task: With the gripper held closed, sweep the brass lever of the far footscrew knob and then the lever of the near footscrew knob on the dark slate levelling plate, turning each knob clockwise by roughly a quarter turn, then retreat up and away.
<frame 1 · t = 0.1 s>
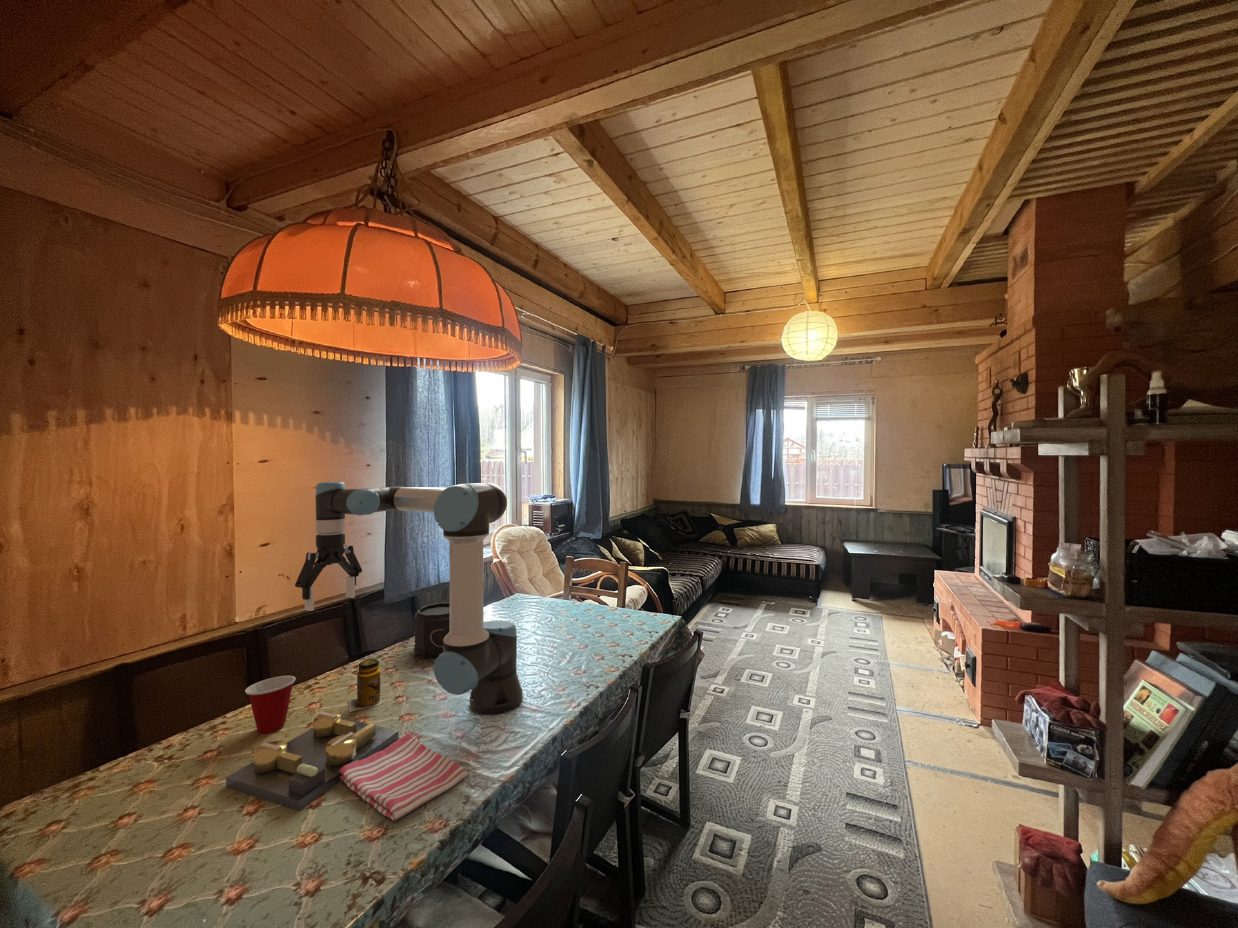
hand: (330, 603, 140), 28 cm above the table, fingers open, 13 cm apart
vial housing: (307, 784, 99), resting on levelling plate
levelling plate: (319, 760, 110), on the table
dish towel: (402, 781, 103), on the table, touching levelling plate
knob B: (279, 757, 104), point 4 cm above the table, hinge at 0.0°
condiment: (365, 703, 137), on the table
knob C: (352, 741, 110), point 4 cm above the table, hinge at 0.0°
plastic cup: (271, 728, 124), on the table
knob A: (335, 724, 118), point 4 cm above the table, hinge at 0.0°
dark lidded canister: (440, 650, 175), on the table
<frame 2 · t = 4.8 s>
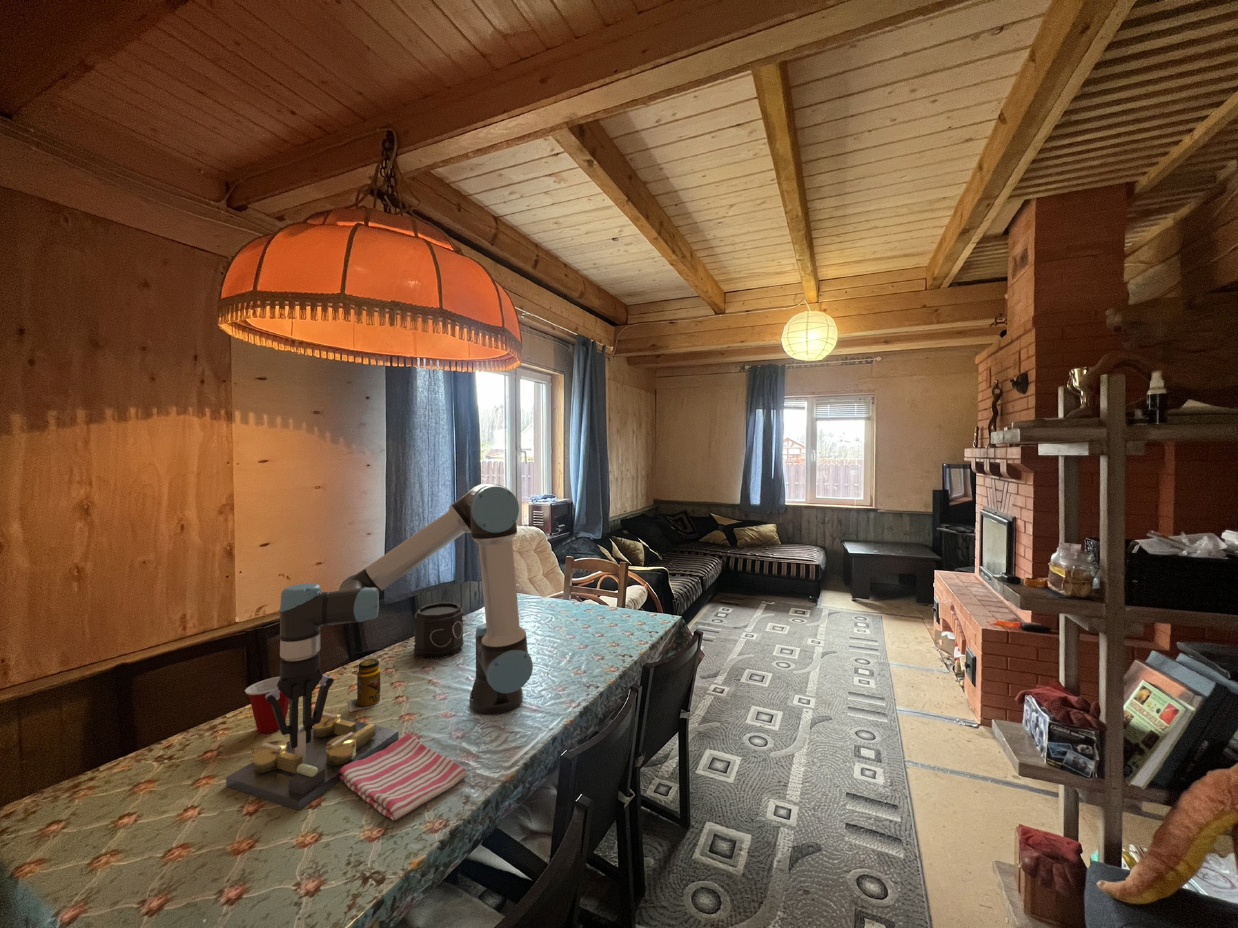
hand: (300, 759, 105), 4 cm above the table, fingers closed
knob B: (279, 757, 104), point 4 cm above the table, hinge at 0.0°, touching gripper
everything else where it was.
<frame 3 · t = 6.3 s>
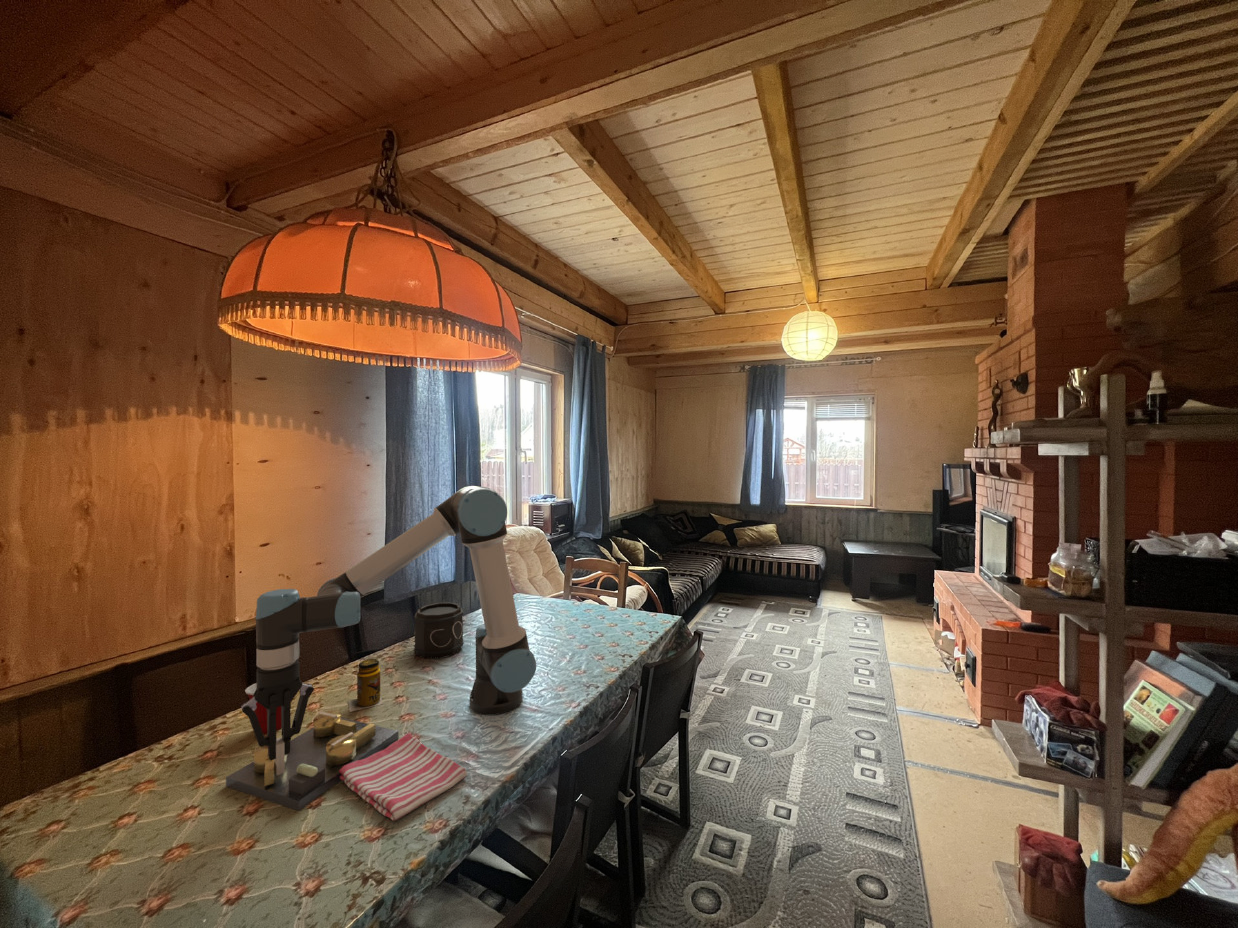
hand: (279, 770, 101), 3 cm above the table, fingers closed
knob B: (270, 761, 103), point 4 cm above the table, hinge at -35.7°, touching gripper
everything else where it was.
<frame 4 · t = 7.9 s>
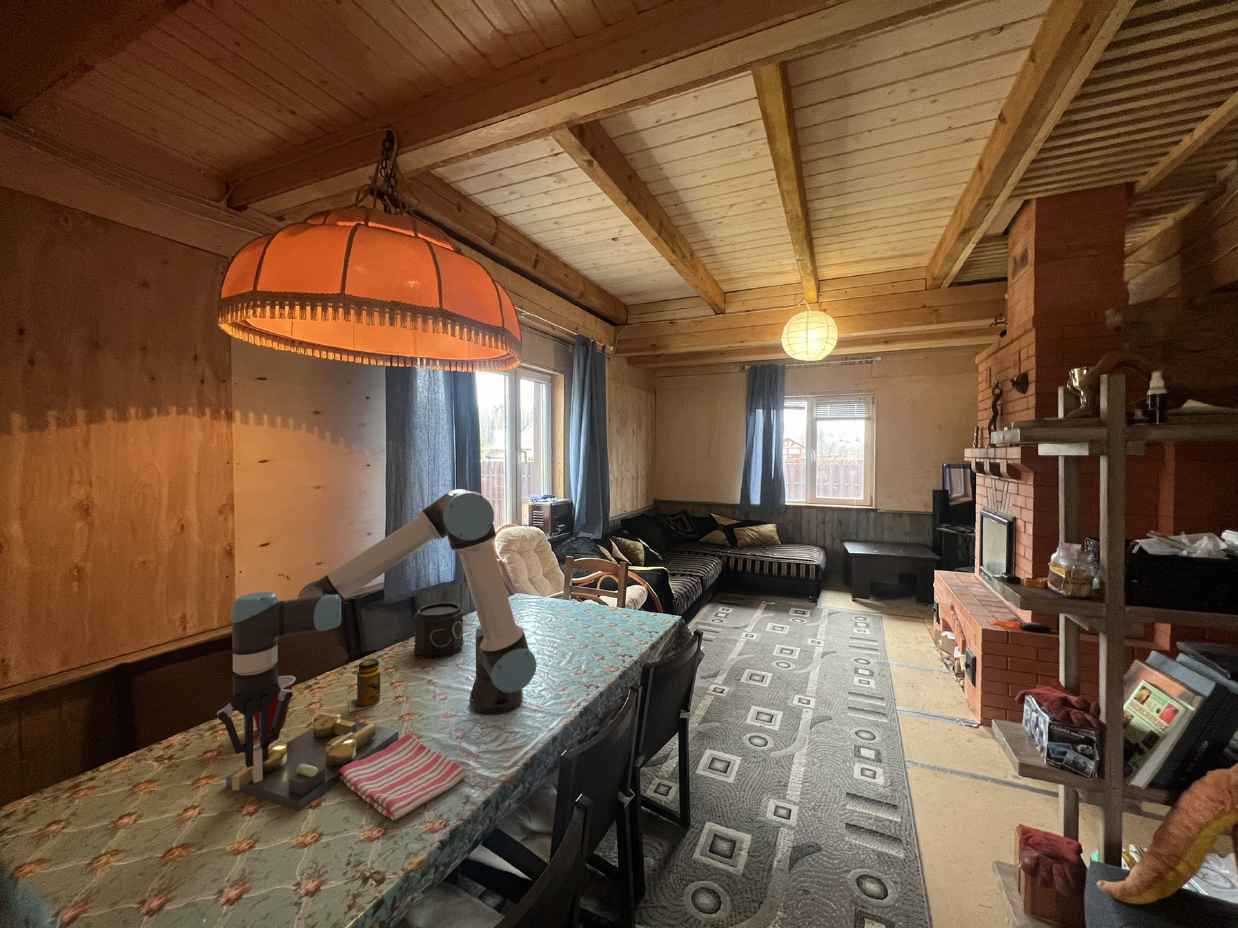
hand: (257, 778, 99), 3 cm above the table, fingers closed
knob B: (259, 762, 102), point 4 cm above the table, hinge at -75.5°, touching gripper
everything else where it was.
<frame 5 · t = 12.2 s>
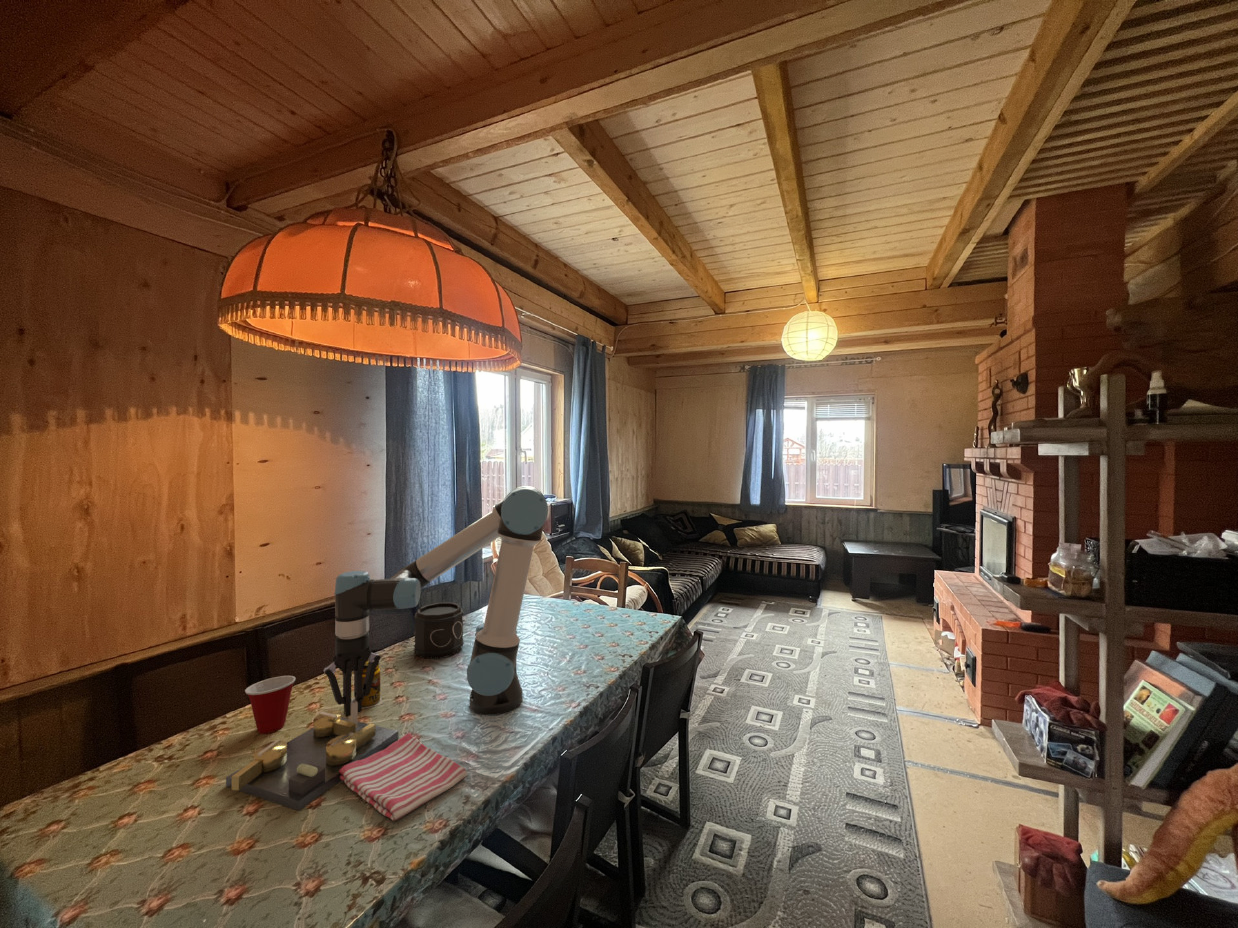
hand: (352, 726, 118), 4 cm above the table, fingers closed
knob B: (259, 762, 102), point 4 cm above the table, hinge at -76.1°
knob A: (335, 724, 118), point 4 cm above the table, hinge at -1.8°, touching gripper
everything else where it was.
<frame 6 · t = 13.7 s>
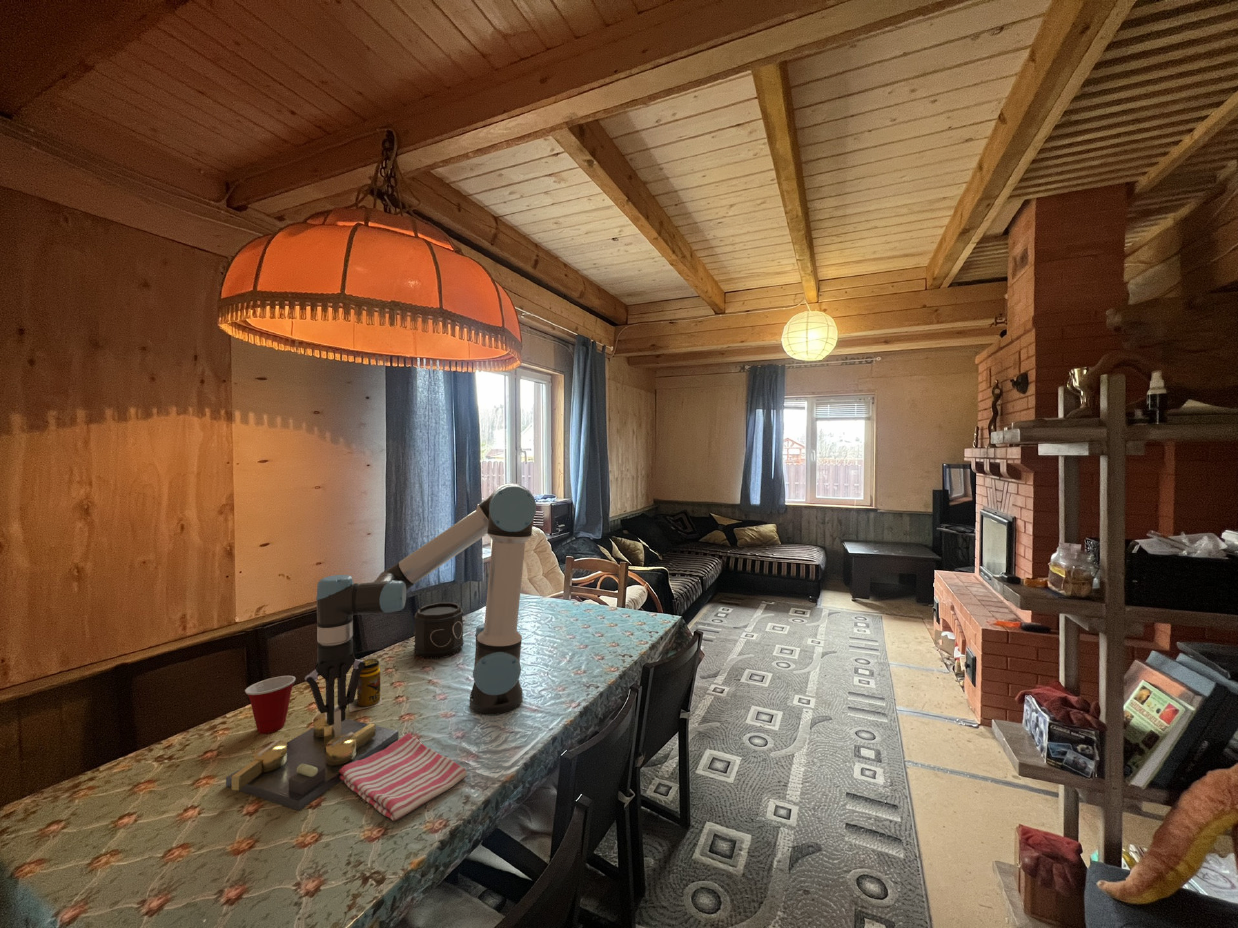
hand: (336, 735, 114), 3 cm above the table, fingers closed
knob A: (327, 727, 116), point 4 cm above the table, hinge at -37.8°, touching gripper
everything else where it was.
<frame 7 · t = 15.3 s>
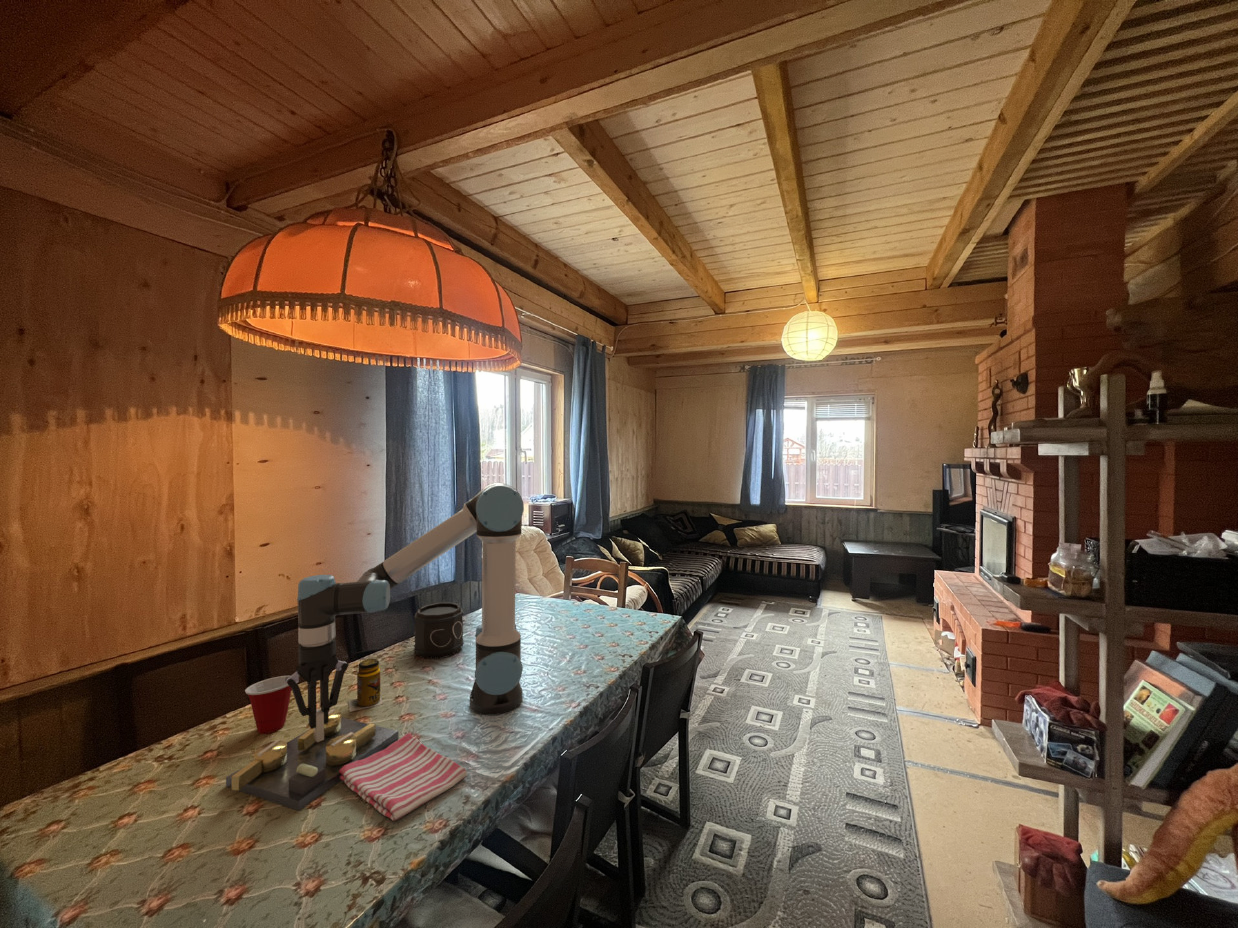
hand: (319, 738, 112), 4 cm above the table, fingers closed
knob A: (319, 728, 116), point 4 cm above the table, hinge at -75.5°
everything else where it was.
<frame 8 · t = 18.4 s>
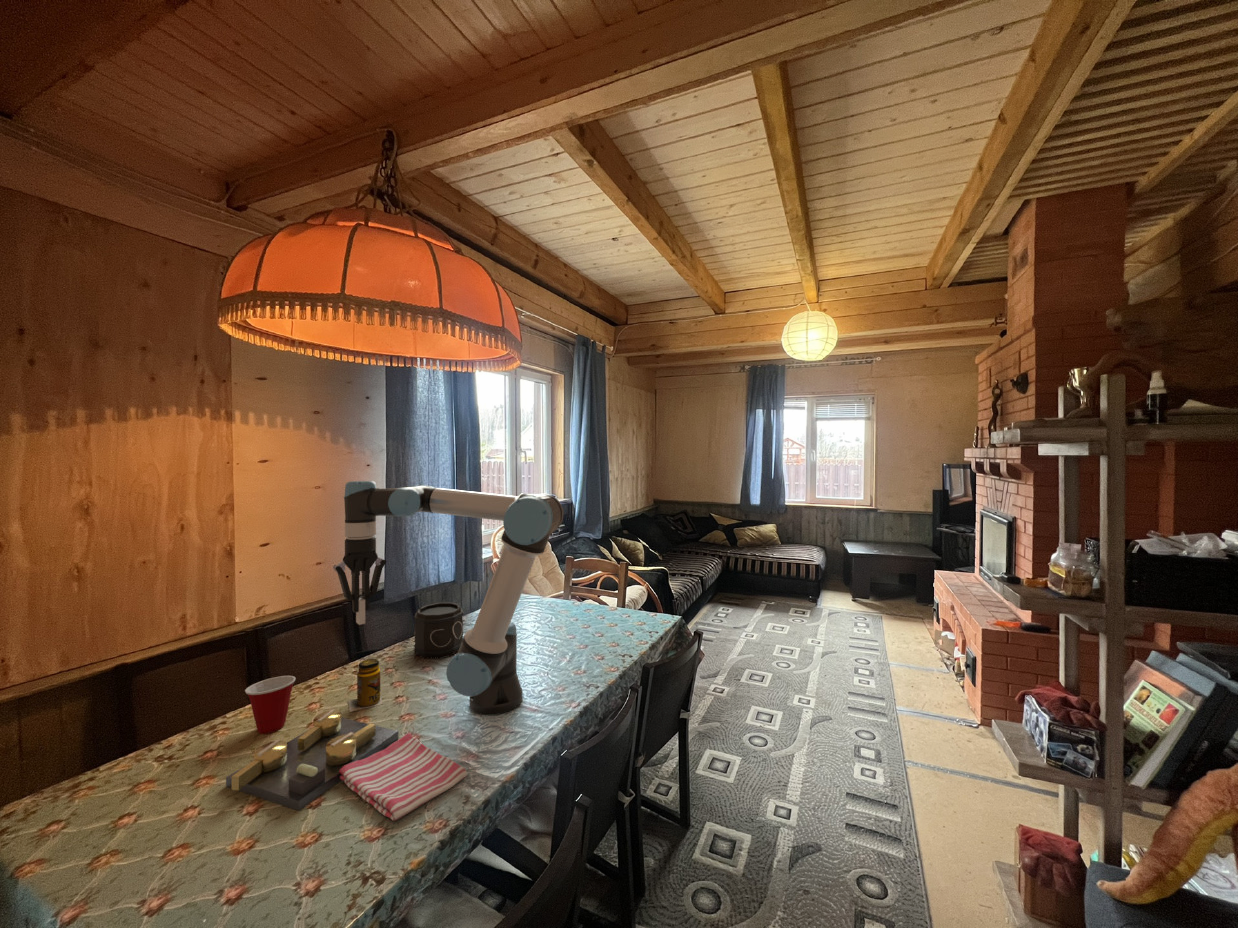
hand: (360, 622, 128), 26 cm above the table, fingers closed
nothing on the table moved.
at the end: knob B at -76° (first picture: +0°); knob A at -76° (first picture: +0°); knob C at +0° (first picture: +0°) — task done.
